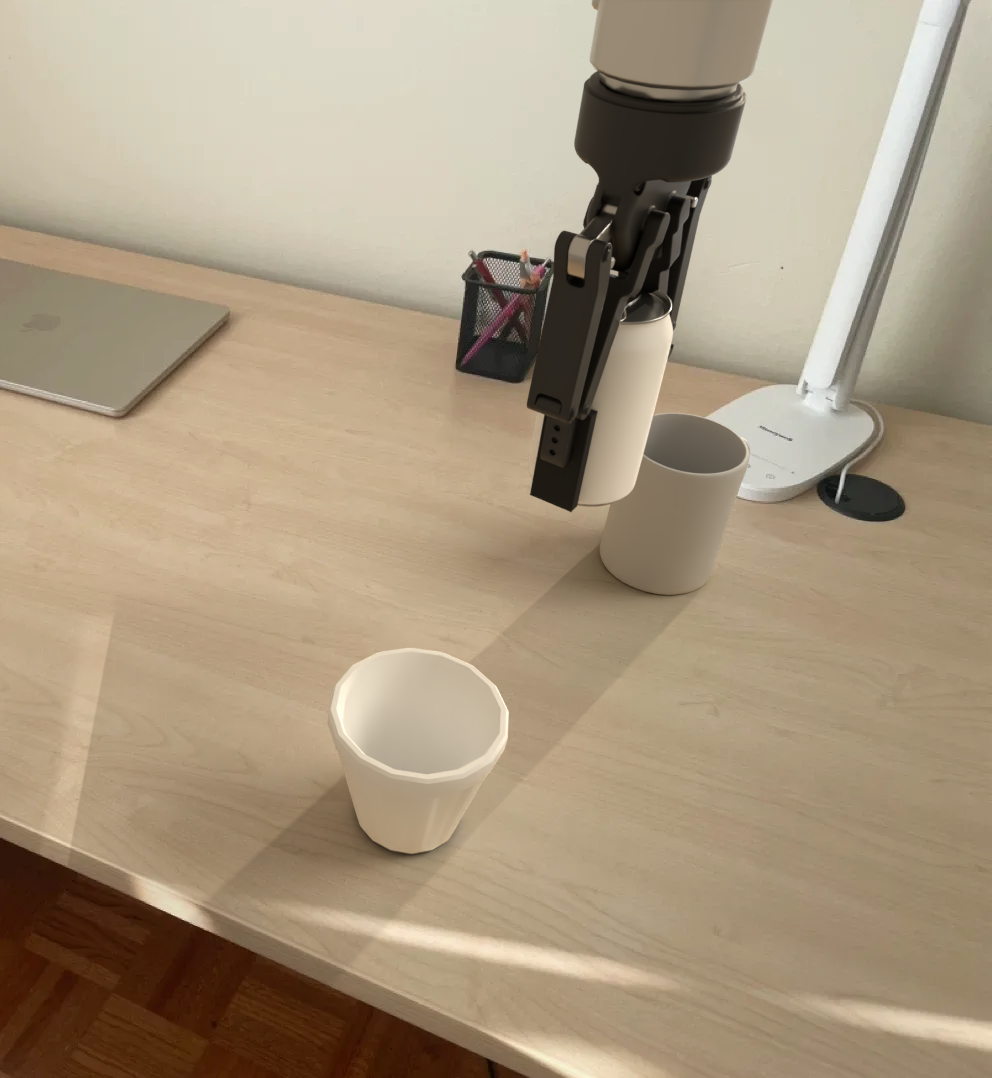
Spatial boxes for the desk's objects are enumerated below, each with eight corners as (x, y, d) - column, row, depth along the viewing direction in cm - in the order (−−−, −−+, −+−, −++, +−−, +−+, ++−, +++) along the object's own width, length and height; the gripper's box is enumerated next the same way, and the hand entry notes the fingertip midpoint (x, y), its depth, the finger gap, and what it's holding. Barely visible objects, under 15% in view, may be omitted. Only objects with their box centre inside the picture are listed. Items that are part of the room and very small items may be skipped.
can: (509, 486, 64) (538, 305, 57) (551, 438, 69) (584, 263, 61) (611, 523, 62) (657, 337, 54) (649, 470, 66) (696, 291, 58)
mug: (659, 611, 78) (695, 490, 71) (575, 550, 84) (601, 432, 77) (764, 555, 83) (807, 437, 76) (678, 501, 89) (712, 387, 82)
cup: (502, 886, 60) (525, 782, 54) (326, 885, 60) (330, 781, 54) (476, 749, 68) (494, 645, 62) (321, 749, 68) (324, 645, 62)
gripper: (675, 26, 58) (597, 391, 73) (493, 110, 47) (443, 524, 61) (815, 48, 54) (703, 428, 69) (655, 145, 43) (561, 578, 57)
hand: (581, 473), depth 65 cm, fingers closed on can, 6 cm apart
